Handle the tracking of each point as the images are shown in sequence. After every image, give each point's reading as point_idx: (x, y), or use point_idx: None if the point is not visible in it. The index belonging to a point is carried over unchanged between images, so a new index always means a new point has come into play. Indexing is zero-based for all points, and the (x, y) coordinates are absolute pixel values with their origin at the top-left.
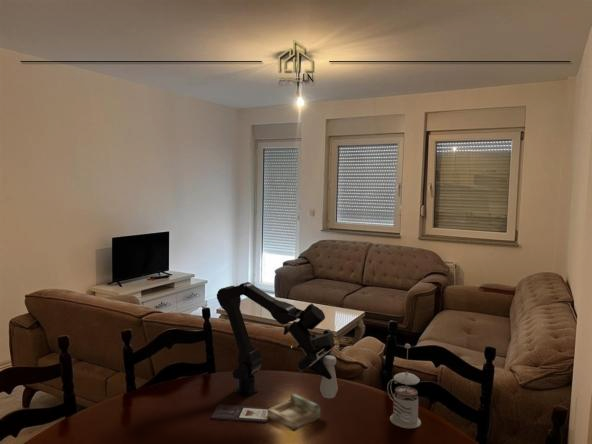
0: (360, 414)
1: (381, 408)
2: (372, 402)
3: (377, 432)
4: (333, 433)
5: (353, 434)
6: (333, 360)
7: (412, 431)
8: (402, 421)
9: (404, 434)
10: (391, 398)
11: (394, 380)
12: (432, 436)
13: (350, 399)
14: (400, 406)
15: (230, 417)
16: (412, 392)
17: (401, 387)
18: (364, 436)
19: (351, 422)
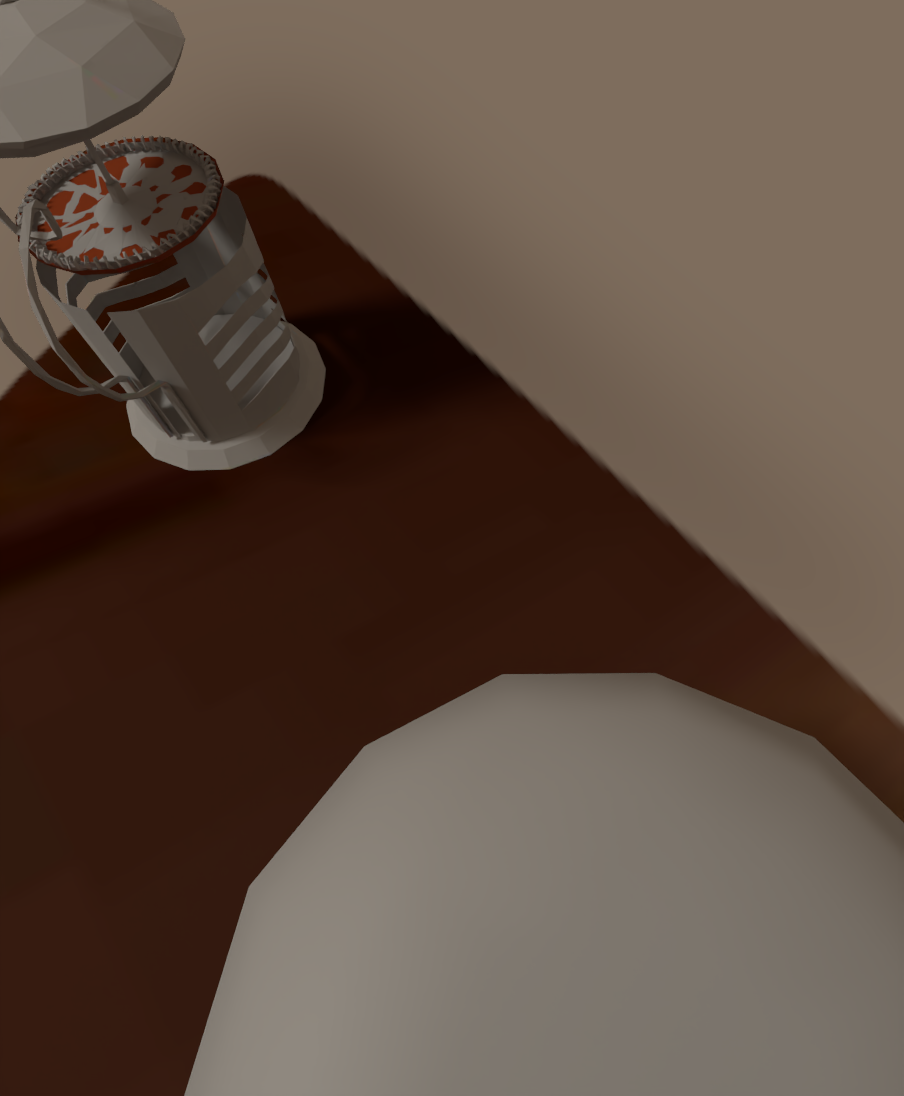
0: (318, 643)
1: (133, 565)
2: (57, 669)
3: (480, 441)
4: (726, 655)
5: (619, 538)
6: (707, 695)
7: (335, 317)
8: (297, 353)
9: (395, 332)
10: (142, 390)
11: (43, 209)
12: (324, 243)
13: (81, 876)
14: (265, 284)
15: None
16: (112, 176)
17: (46, 256)
18: (584, 476)
19: (482, 634)
